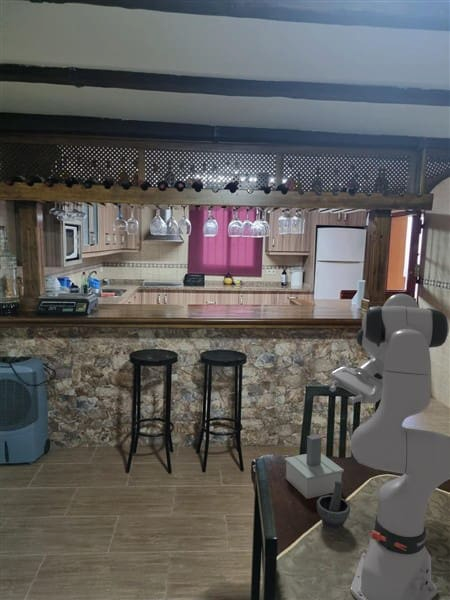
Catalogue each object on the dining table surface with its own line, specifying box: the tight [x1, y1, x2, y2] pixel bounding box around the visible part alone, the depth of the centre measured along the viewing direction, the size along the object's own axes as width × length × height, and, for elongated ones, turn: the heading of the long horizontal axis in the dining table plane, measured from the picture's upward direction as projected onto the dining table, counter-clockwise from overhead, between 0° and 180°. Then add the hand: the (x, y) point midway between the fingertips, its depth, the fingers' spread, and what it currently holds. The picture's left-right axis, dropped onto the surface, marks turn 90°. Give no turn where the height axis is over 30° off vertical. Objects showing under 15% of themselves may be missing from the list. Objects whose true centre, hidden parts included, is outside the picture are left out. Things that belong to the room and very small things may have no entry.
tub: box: [285, 461, 343, 500], centre depth 151 cm, size 14×14×7 cm
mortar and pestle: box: [316, 481, 351, 533], centre depth 128 cm, size 11×9×12 cm
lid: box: [284, 434, 345, 480], centre depth 150 cm, size 15×15×12 cm
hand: (340, 395), depth 150 cm, fingers open, 8 cm apart
